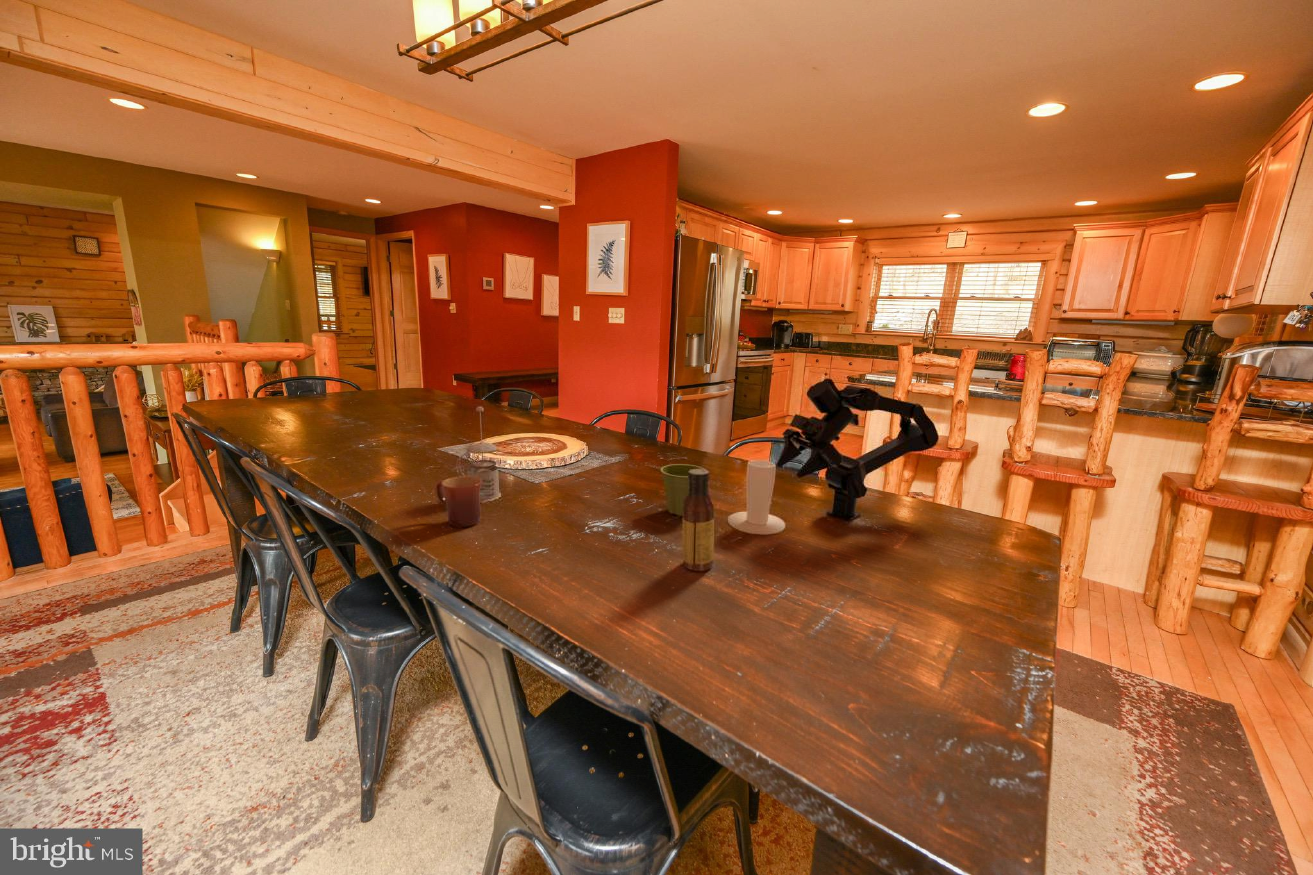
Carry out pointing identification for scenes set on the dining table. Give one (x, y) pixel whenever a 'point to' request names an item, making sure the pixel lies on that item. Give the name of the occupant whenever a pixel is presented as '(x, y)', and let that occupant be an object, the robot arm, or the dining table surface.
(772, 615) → the dining table surface
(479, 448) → the french press
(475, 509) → the mug
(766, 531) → the cream flat disc
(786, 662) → the dining table surface
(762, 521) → the drinking glass
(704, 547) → the sauce bottle
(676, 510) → the plant pot
